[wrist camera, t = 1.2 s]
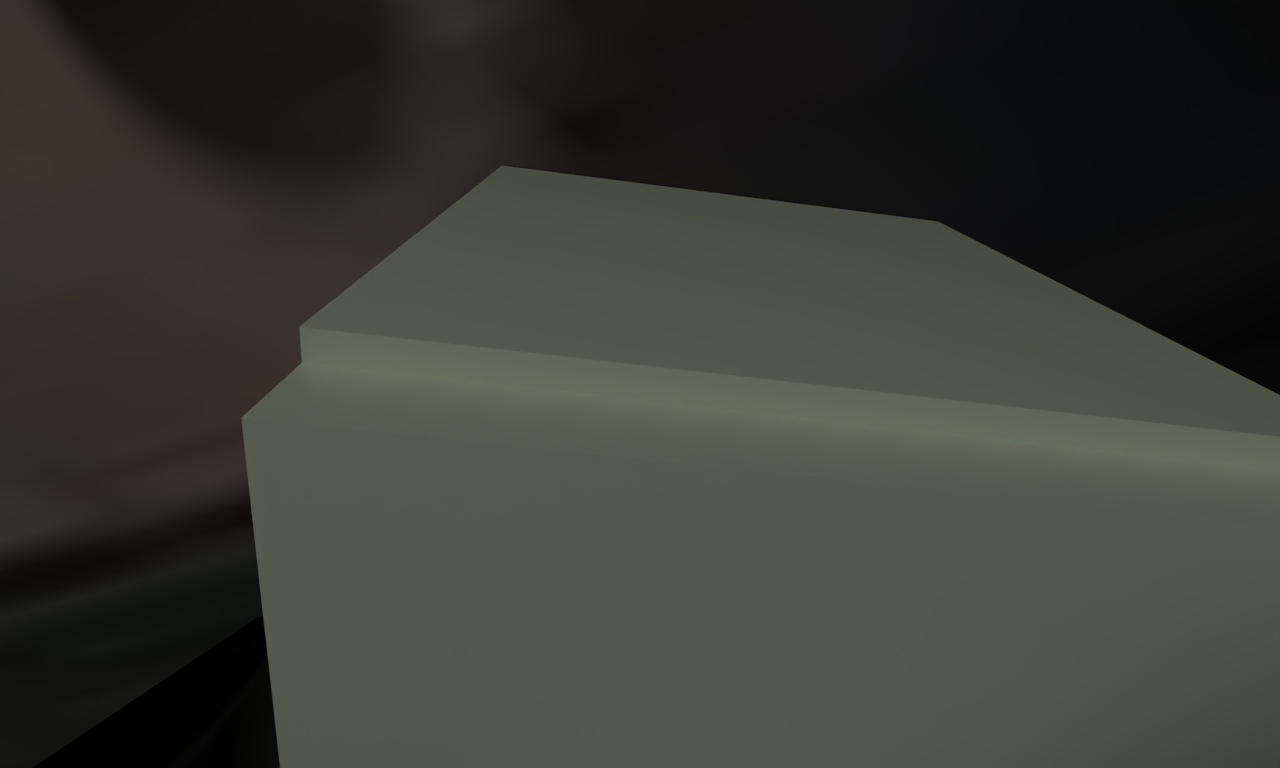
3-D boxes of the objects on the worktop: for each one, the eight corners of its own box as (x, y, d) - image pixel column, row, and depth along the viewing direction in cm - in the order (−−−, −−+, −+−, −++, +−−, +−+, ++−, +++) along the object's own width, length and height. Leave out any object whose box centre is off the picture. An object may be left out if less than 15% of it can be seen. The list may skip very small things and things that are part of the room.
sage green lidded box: (841, 589, 16) (1067, 1145, 8) (471, 554, 15) (291, 1113, 7) (952, 223, 12) (1549, 517, 4) (486, 163, 12) (188, 370, 4)
